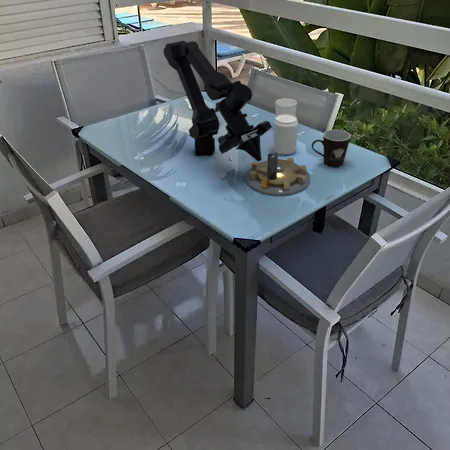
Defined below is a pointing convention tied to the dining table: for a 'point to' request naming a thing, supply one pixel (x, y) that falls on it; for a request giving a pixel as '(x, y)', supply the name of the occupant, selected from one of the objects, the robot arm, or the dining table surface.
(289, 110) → the white translucent cylinder
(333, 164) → the coffee mug
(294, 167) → the sprocket
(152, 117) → the dining table surface
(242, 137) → the robot arm
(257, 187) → the sprocket base
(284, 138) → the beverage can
